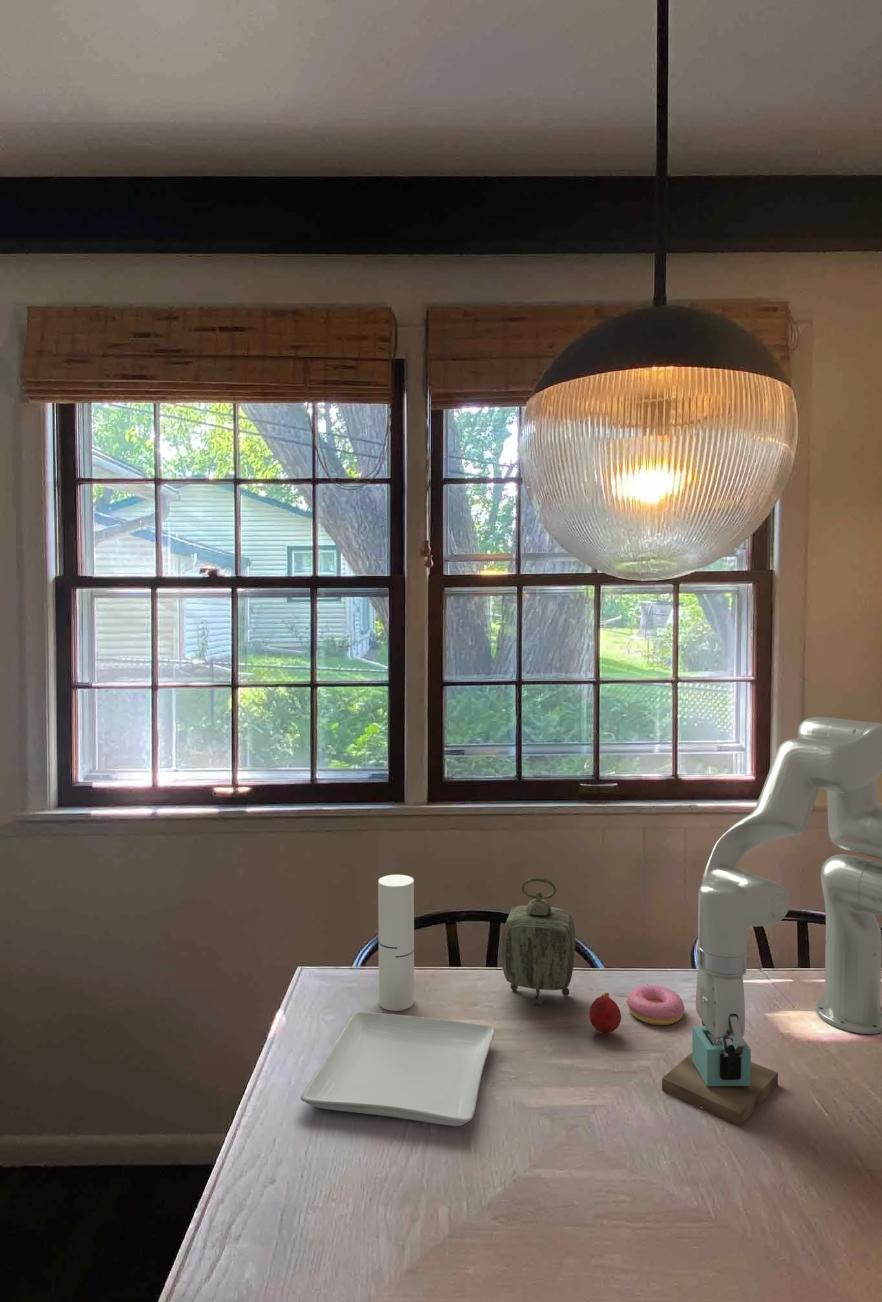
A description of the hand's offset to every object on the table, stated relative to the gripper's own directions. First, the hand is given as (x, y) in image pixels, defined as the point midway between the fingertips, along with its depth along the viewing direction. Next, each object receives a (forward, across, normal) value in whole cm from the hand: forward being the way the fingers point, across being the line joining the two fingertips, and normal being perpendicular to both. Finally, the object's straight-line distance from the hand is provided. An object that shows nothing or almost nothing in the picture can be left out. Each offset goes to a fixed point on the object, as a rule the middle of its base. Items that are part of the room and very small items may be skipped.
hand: (720, 1063), depth 125 cm
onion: (+4, -16, -16) cm, 23 cm away
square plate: (+5, -4, -52) cm, 53 cm away
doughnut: (+4, -24, -4) cm, 25 cm away
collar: (+2, 0, 0) cm, 2 cm away
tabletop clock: (+4, -30, -26) cm, 40 cm away
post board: (+4, 0, 0) cm, 4 cm away
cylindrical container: (+4, -29, -55) cm, 62 cm away
